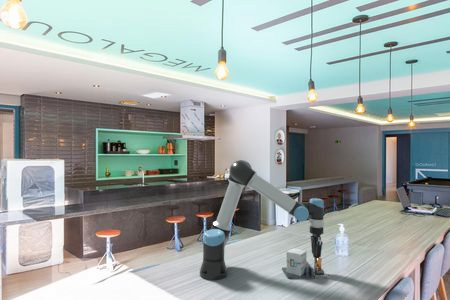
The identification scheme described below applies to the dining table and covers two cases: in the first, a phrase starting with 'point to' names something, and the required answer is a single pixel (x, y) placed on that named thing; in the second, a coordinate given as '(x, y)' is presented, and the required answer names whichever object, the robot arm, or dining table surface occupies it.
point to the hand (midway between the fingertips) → (316, 268)
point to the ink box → (296, 261)
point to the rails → (321, 276)
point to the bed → (307, 275)
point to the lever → (318, 268)
